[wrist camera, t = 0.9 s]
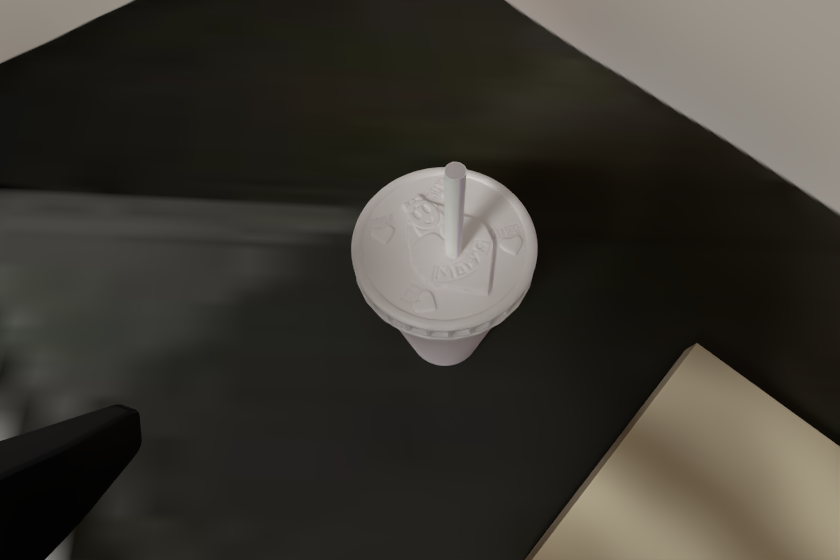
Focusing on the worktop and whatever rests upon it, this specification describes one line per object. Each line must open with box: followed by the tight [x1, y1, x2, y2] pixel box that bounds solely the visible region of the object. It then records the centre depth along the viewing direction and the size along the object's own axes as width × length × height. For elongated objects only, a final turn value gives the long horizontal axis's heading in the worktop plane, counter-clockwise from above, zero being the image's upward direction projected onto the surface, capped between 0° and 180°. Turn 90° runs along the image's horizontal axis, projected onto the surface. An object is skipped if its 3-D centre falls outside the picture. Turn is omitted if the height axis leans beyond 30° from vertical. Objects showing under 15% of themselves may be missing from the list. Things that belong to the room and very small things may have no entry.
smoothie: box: [351, 162, 537, 366], centre depth 18 cm, size 6×6×14 cm
